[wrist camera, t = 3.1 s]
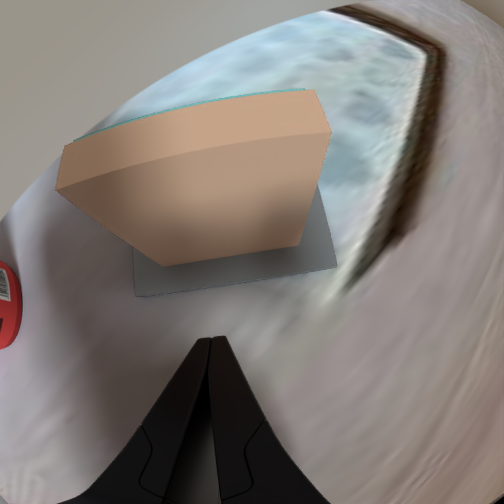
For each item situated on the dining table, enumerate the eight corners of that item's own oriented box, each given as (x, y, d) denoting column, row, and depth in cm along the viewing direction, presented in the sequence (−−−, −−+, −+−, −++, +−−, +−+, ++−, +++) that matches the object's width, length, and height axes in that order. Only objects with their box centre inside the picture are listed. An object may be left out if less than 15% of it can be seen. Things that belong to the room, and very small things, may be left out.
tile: (298, 245, 16) (332, 131, 7) (163, 266, 16) (55, 190, 7) (291, 213, 17) (311, 83, 7) (161, 235, 17) (66, 139, 7)
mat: (335, 267, 16) (337, 265, 16) (138, 297, 17) (134, 296, 16) (287, 95, 20) (288, 91, 20) (141, 122, 20) (139, 119, 20)
